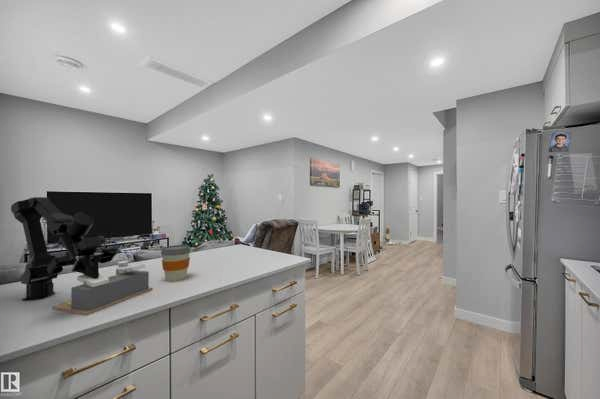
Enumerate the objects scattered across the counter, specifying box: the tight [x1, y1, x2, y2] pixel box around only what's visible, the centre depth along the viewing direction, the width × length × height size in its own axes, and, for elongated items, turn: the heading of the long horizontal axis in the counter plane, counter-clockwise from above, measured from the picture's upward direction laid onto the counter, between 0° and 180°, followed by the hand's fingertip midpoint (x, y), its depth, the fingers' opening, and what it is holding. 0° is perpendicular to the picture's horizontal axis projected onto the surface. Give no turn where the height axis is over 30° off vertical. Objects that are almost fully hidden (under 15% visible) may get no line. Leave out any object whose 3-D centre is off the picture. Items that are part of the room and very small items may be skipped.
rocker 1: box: [76, 273, 109, 287], centre depth 83 cm, size 8×5×2 cm, turn 72°
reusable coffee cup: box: [161, 244, 191, 282], centre depth 115 cm, size 13×13×15 cm
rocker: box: [118, 263, 146, 273], centre depth 96 cm, size 8×5×2 cm, turn 73°
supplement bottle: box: [115, 260, 131, 275], centre depth 109 cm, size 5×5×10 cm
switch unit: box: [51, 269, 153, 316], centre depth 91 cm, size 17×24×8 cm
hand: (97, 277), depth 82 cm, fingers closed
